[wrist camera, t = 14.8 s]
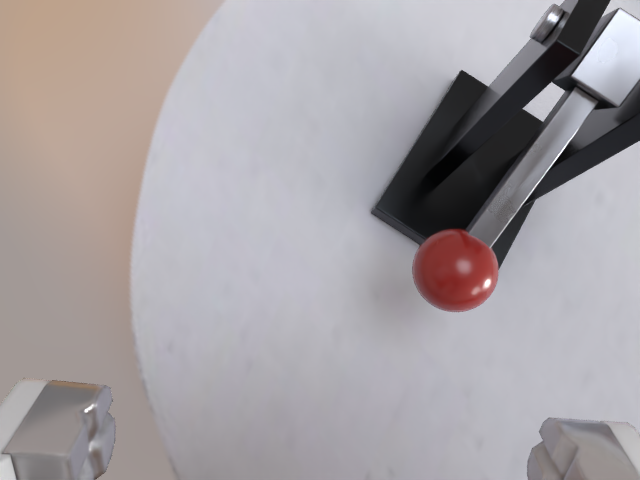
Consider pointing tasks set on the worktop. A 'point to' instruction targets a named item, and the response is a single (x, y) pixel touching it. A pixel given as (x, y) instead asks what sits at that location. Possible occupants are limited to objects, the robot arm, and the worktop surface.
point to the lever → (530, 167)
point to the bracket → (502, 135)
